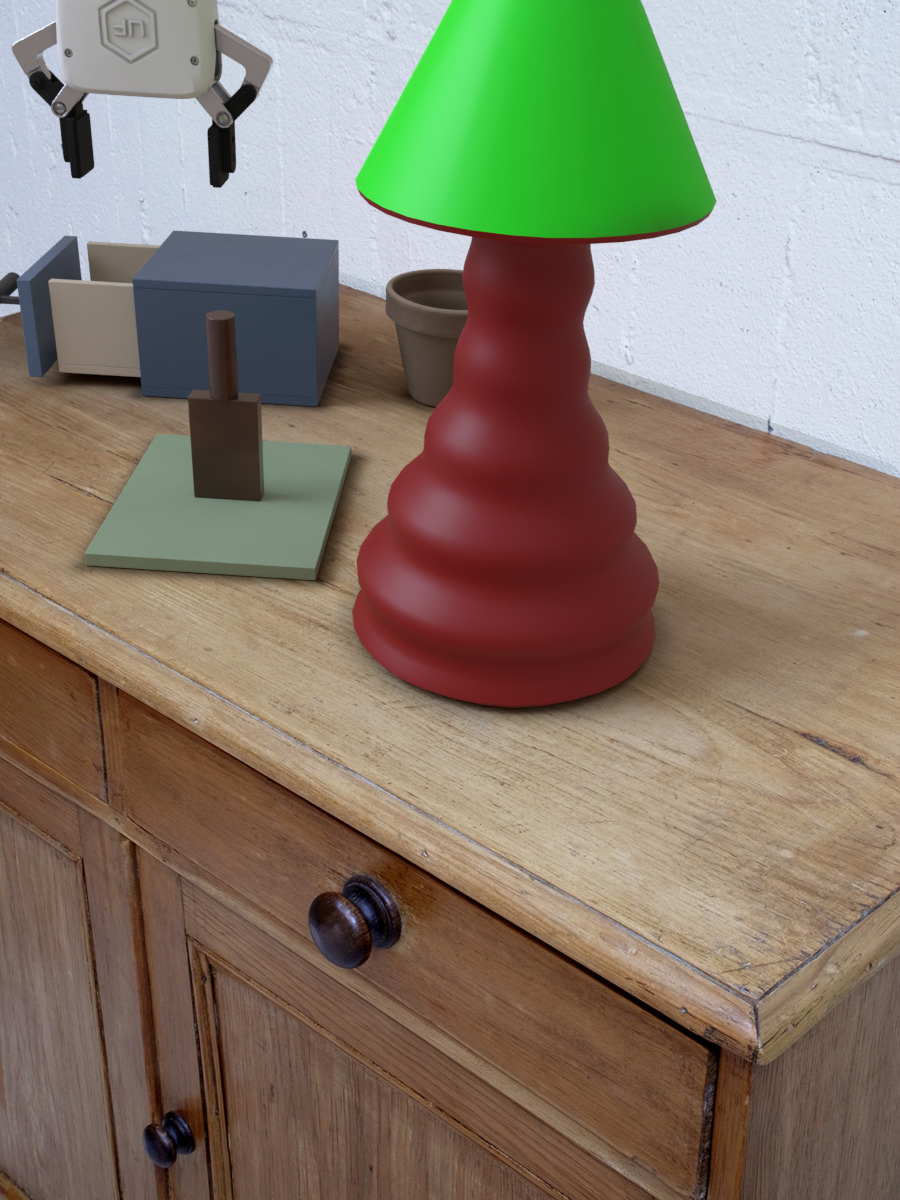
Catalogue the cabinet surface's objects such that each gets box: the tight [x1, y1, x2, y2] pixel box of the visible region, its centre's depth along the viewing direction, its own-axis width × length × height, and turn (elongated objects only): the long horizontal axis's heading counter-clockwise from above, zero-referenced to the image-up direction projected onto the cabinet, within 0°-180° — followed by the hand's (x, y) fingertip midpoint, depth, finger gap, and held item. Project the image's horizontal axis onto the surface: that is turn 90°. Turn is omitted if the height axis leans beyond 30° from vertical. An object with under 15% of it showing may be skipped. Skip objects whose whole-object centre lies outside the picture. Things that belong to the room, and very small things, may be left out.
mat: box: [84, 433, 352, 581], centre depth 99 cm, size 16×20×1 cm
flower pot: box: [385, 268, 468, 408], centre depth 116 cm, size 12×11×10 cm
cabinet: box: [132, 230, 340, 407], centre depth 119 cm, size 16×15×11 cm
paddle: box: [187, 310, 264, 501], centre depth 95 cm, size 5×2×14 cm, turn 87°
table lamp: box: [351, 0, 717, 709], centre depth 75 cm, size 20×20×45 cm
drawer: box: [0, 235, 162, 378], centre depth 120 cm, size 19×13×9 cm
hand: (151, 178), depth 92 cm, fingers open, 9 cm apart
